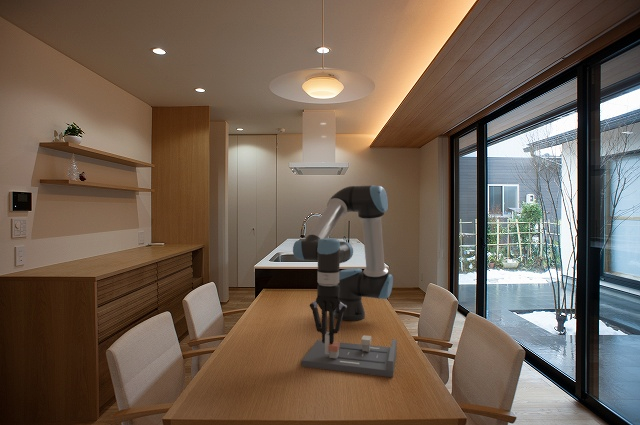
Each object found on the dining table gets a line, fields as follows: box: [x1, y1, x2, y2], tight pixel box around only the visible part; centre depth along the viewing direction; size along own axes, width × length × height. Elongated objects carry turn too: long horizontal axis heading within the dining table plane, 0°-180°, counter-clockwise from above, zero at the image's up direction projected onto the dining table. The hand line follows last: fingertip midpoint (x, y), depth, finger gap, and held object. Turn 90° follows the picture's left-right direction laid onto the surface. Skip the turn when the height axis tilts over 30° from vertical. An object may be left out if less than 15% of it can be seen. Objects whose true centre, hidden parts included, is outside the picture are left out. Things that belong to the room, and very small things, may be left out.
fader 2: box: [360, 335, 372, 352], centre depth 133 cm, size 4×3×4 cm
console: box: [301, 338, 398, 378], centre depth 130 cm, size 20×30×5 cm, turn 75°
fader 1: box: [328, 341, 340, 359], centre depth 127 cm, size 4×3×4 cm
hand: (327, 352), depth 128 cm, fingers closed
